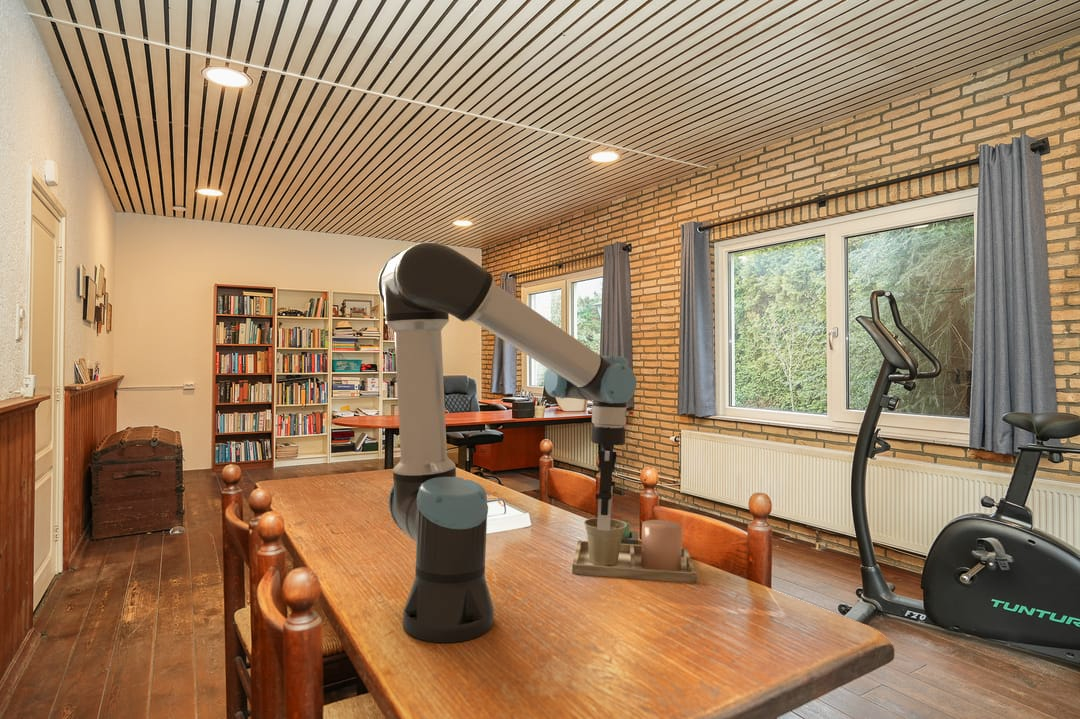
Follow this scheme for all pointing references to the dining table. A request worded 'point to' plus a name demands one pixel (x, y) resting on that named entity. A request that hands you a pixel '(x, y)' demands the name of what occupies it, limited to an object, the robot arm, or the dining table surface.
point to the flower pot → (604, 542)
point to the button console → (631, 538)
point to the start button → (626, 530)
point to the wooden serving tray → (631, 565)
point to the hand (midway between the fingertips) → (604, 522)
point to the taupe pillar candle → (661, 545)
